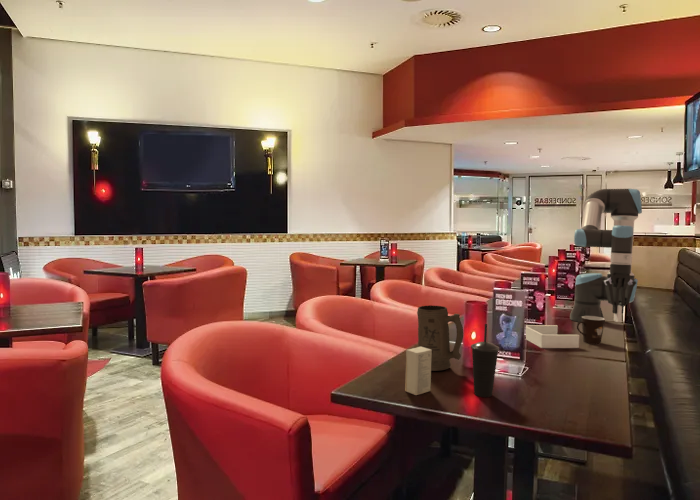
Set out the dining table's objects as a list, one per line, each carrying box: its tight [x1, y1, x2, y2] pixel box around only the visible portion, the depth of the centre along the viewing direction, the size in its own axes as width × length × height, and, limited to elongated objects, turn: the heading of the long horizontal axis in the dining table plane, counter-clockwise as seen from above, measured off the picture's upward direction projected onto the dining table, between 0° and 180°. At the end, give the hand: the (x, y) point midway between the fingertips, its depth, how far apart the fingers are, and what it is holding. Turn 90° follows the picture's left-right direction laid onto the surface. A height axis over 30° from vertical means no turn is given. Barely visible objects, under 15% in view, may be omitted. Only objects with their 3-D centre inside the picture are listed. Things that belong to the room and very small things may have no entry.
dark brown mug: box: [576, 316, 606, 345], centre depth 210 cm, size 12×9×10 cm
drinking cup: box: [470, 323, 500, 398], centre depth 145 cm, size 8×8×20 cm
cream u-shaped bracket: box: [525, 324, 580, 349], centre depth 208 cm, size 15×18×5 cm
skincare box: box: [404, 346, 432, 396], centre depth 146 cm, size 6×4×12 cm
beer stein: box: [416, 304, 464, 372], centre depth 169 cm, size 15×11×20 cm
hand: (617, 321), depth 210 cm, fingers closed
